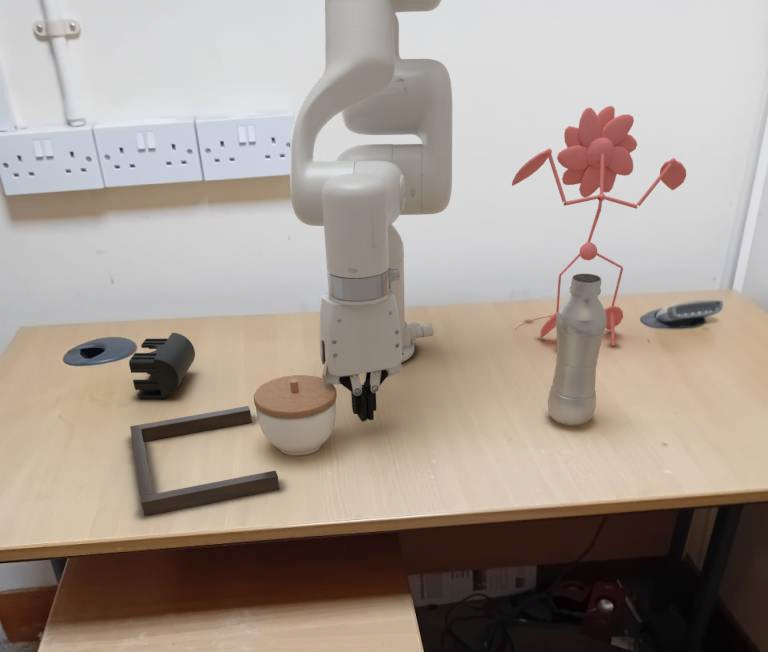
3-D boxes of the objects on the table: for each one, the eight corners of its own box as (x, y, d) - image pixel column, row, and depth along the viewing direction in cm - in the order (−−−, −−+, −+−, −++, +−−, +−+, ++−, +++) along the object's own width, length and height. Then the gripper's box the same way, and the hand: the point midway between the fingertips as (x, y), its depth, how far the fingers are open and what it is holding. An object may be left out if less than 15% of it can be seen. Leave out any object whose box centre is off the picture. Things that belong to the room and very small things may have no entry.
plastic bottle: (566, 435, 107) (583, 291, 95) (536, 415, 112) (549, 275, 100) (603, 424, 109) (625, 281, 97) (572, 404, 114) (589, 266, 102)
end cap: (182, 400, 118) (174, 358, 114) (136, 400, 119) (126, 358, 115) (199, 371, 126) (191, 331, 122) (155, 372, 127) (147, 332, 123)
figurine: (664, 344, 130) (709, 109, 110) (513, 357, 128) (530, 119, 107) (627, 310, 143) (662, 93, 123) (489, 322, 140) (500, 102, 120)
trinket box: (262, 427, 111) (254, 365, 105) (338, 422, 111) (334, 361, 106) (258, 467, 102) (249, 402, 97) (341, 462, 103) (336, 397, 97)
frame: (250, 418, 113) (248, 405, 112) (279, 489, 98) (277, 475, 97) (133, 438, 109) (129, 426, 108) (144, 516, 94) (140, 502, 93)
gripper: (405, 267, 102) (406, 396, 112) (292, 282, 98) (304, 414, 108) (426, 285, 96) (425, 419, 106) (307, 302, 92) (318, 439, 103)
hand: (364, 416), depth 107 cm, fingers closed
